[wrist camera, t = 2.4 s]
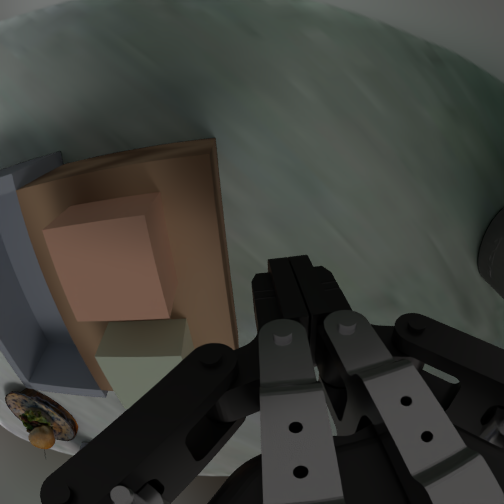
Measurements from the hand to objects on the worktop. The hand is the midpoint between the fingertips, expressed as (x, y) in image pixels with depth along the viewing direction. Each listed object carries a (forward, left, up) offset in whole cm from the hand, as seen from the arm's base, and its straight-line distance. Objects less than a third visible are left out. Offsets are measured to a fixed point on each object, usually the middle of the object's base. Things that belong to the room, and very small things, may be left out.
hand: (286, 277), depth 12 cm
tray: (+18, +4, -10) cm, 21 cm away
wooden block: (+8, +4, -10) cm, 13 cm away
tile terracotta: (+8, 0, -4) cm, 9 cm away
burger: (+33, +27, -10) cm, 43 cm away
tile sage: (+8, +7, -4) cm, 11 cm away
